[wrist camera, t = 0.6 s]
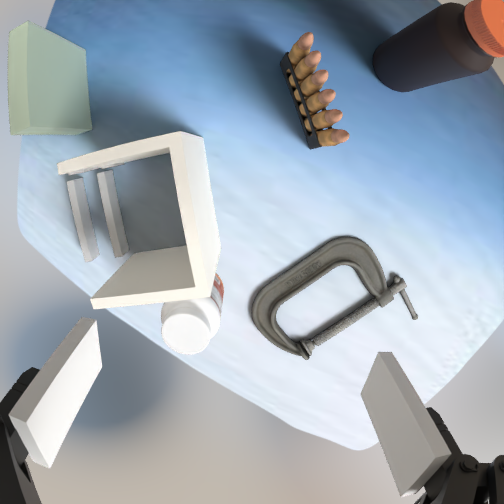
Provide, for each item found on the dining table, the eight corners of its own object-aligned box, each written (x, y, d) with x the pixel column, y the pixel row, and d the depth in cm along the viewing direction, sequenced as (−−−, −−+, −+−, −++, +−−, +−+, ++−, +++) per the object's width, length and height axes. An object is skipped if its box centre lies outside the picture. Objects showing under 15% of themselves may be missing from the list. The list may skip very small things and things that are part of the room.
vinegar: (414, 100, 33) (531, 81, 14) (367, 80, 32) (469, 33, 13) (422, 55, 31) (529, 16, 12) (376, 34, 30) (469, -32, 11)
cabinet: (74, 167, 34) (9, 180, 22) (203, 137, 34) (180, 131, 22) (96, 266, 38) (46, 312, 26) (221, 248, 38) (210, 296, 26)
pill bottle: (177, 309, 40) (158, 360, 30) (172, 264, 39) (147, 305, 28) (225, 308, 41) (220, 361, 30) (223, 263, 39) (215, 305, 28)
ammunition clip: (279, 63, 32) (295, 25, 20) (294, 59, 31) (317, 21, 20) (310, 149, 35) (340, 149, 23) (325, 145, 35) (361, 144, 23)
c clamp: (377, 212, 38) (385, 216, 35) (416, 315, 42) (424, 324, 40) (235, 291, 40) (234, 301, 38) (296, 380, 45) (298, 392, 42)
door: (63, 59, 30) (2, 36, 18) (85, 49, 30) (28, 20, 17) (69, 137, 33) (4, 138, 21) (92, 129, 33) (30, 126, 21)
